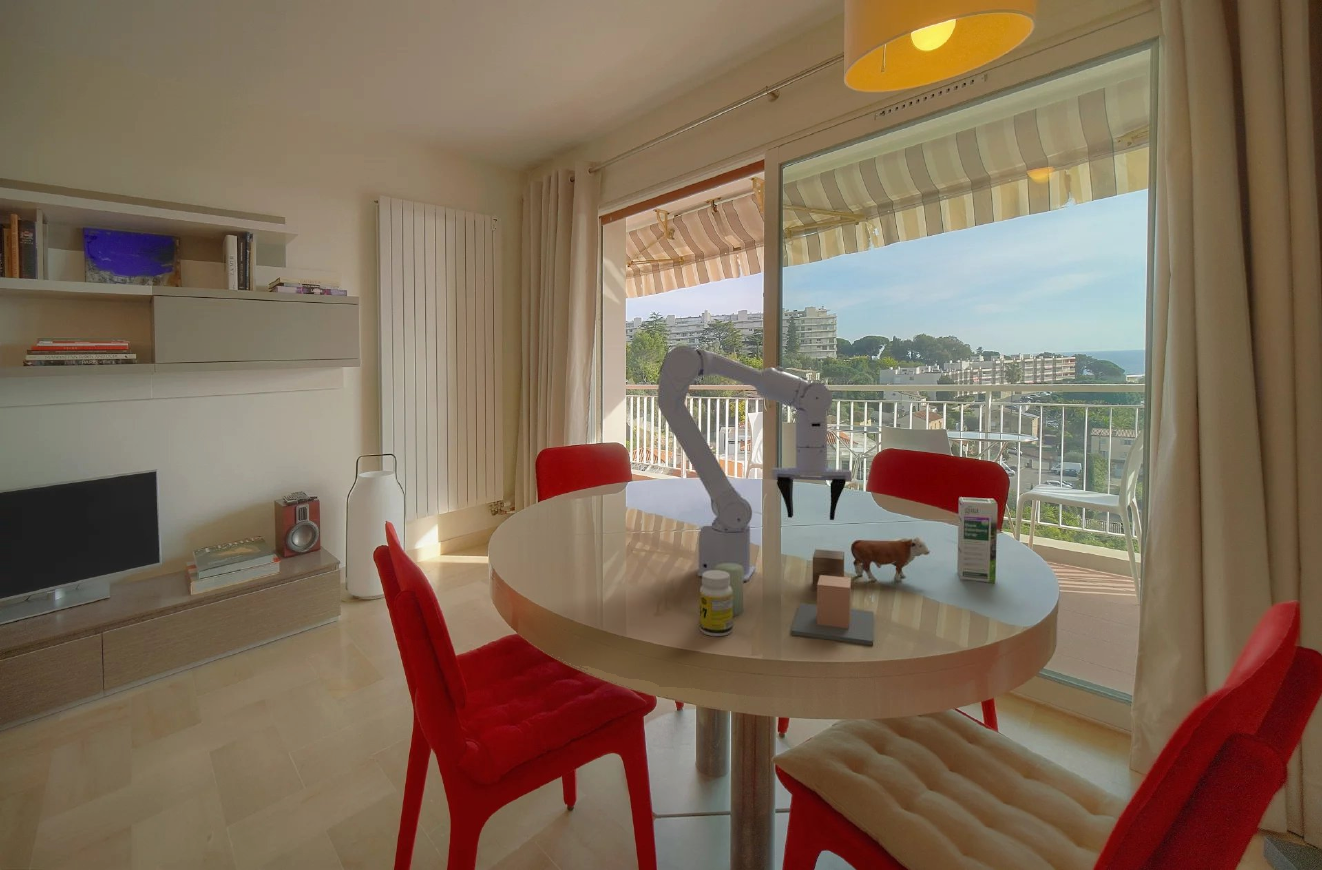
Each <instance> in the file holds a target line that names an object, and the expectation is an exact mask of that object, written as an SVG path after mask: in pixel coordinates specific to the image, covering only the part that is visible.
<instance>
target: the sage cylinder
mask: <svg viewBox="0 0 1322 870" xmlns="http://www.w3.org/2000/svg"><path fill="white" fill-rule="evenodd" d="M715 570H720V571H725V572H727V573H729V575H730V585H729V586H730V587H731V588H732V614H733V617H736V616H740V615H741V614H743V613H744V581H743V566H741V565H738V564H733V563H723V564H718V565H716V566H715Z"/></svg>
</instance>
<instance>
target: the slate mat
mask: <svg viewBox="0 0 1322 870" xmlns="http://www.w3.org/2000/svg"><path fill="white" fill-rule="evenodd" d="M790 634H791V635H792V636H798V637H799V636H801V637H807V638H814V639H815V638H816V639H823V640H830V641H839V642H845V643H854V644H862V645H867V646H868V645H869V646H874V611H872V610H871V611H870V610H864V609H863V610H862V609H855V608H854V609H853V608H851V611H850V626H849V628H840V627H832V626H824V625H817V604H808V603H799V607H798V610H797V613H796V615H795V618H794V621H793V624H792V627H791V630H790Z"/></svg>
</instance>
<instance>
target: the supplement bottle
mask: <svg viewBox="0 0 1322 870" xmlns="http://www.w3.org/2000/svg"><path fill="white" fill-rule="evenodd" d="M701 584H702V585H701V586H700V588H699V629H700V631H701V633H703V634H705V635H707V636H710V637H724V636H727V635H730V634H731V633H732V631H733V628H734V627H733V625H734V623H733V617H734V616H733V614H732V588H731V587H730V586H729V585H730V575H729V573H727V572H725V571H720V570H710V571H706V572H704V573H703V574H702V576H701Z"/></svg>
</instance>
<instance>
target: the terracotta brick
mask: <svg viewBox="0 0 1322 870" xmlns="http://www.w3.org/2000/svg"><path fill="white" fill-rule="evenodd" d="M851 592H852V577H845V576H844V577H835V576H825V575H820V577H819V580H818V584H817V591H816V605H817V625H824V626H832V627H840V628H849V626H850V611H851V609H852V607H851V605H852V604H851V603H852V601H851V599H852V598H851V597H852V593H851Z"/></svg>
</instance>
